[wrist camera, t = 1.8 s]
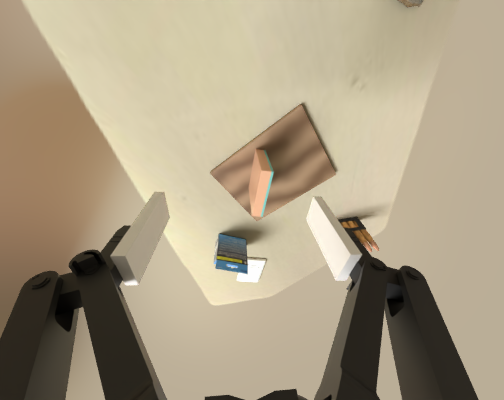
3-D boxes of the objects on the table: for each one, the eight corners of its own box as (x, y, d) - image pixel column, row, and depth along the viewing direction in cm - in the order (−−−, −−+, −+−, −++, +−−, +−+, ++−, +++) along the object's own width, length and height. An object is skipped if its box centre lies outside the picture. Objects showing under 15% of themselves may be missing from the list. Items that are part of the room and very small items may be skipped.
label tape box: (215, 241, 57) (211, 277, 47) (218, 232, 55) (215, 268, 45) (242, 246, 59) (243, 282, 49) (246, 238, 57) (249, 273, 47)
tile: (248, 187, 46) (251, 216, 37) (255, 148, 40) (261, 170, 31) (257, 188, 46) (262, 216, 37) (265, 150, 41) (273, 171, 31)
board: (210, 171, 44) (210, 173, 43) (300, 104, 37) (301, 104, 36) (256, 219, 53) (256, 221, 52) (334, 172, 46) (336, 174, 45)
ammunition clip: (321, 226, 57) (339, 258, 47) (321, 222, 56) (340, 254, 46) (356, 221, 56) (381, 252, 47) (357, 216, 55) (383, 247, 45)
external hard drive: (236, 277, 69) (242, 255, 62) (257, 278, 71) (265, 257, 64) (236, 281, 68) (242, 259, 61) (258, 282, 69) (266, 261, 62)
